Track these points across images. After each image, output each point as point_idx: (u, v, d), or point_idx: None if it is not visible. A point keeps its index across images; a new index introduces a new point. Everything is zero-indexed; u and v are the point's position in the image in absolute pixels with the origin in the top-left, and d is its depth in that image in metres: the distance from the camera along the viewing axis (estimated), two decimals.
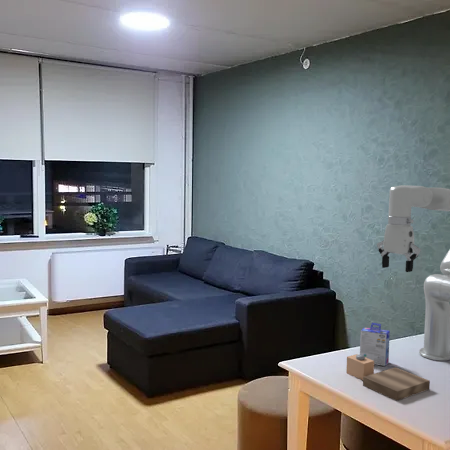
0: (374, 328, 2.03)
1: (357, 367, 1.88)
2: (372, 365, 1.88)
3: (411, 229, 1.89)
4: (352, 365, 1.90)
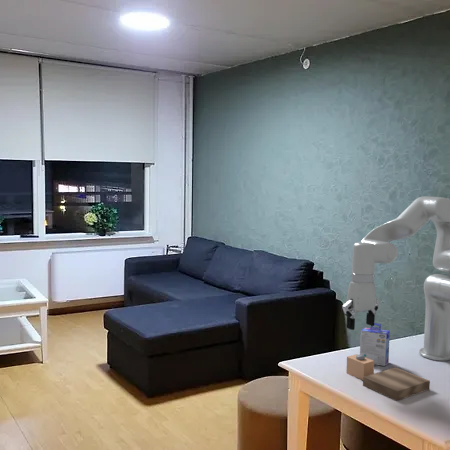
0: (374, 328, 2.03)
1: (357, 367, 1.88)
2: (372, 365, 1.88)
3: None
4: (352, 365, 1.90)
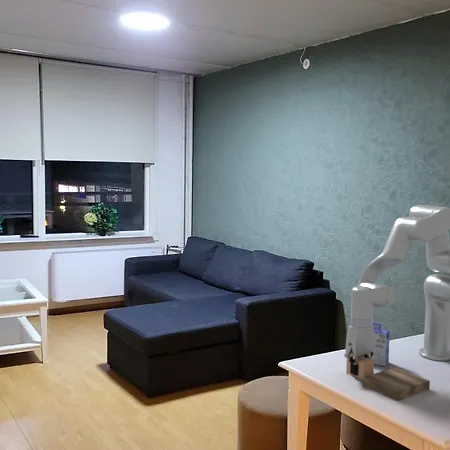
0: (374, 328, 2.03)
1: None
2: (372, 365, 1.88)
3: None
4: None
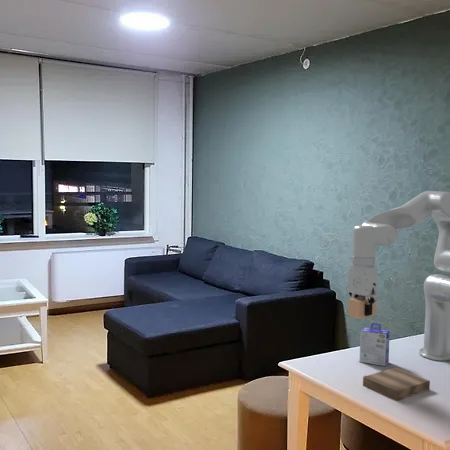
0: (374, 328, 2.03)
1: None
2: None
3: None
4: None
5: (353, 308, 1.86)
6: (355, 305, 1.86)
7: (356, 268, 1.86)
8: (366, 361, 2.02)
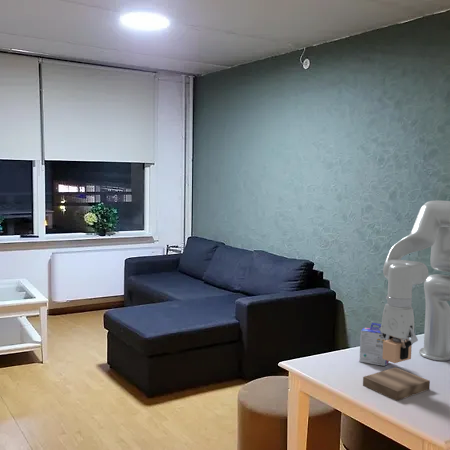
0: (374, 328, 2.03)
1: None
2: None
3: None
4: (400, 350, 1.76)
5: (388, 351, 1.77)
6: (390, 348, 1.76)
7: (392, 309, 1.77)
8: (366, 361, 2.02)
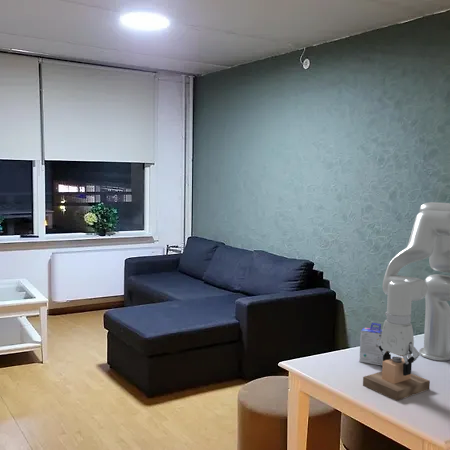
0: (374, 328, 2.03)
1: None
2: None
3: None
4: (400, 371, 1.77)
5: (387, 372, 1.78)
6: (390, 368, 1.77)
7: (391, 326, 1.77)
8: (366, 361, 2.02)
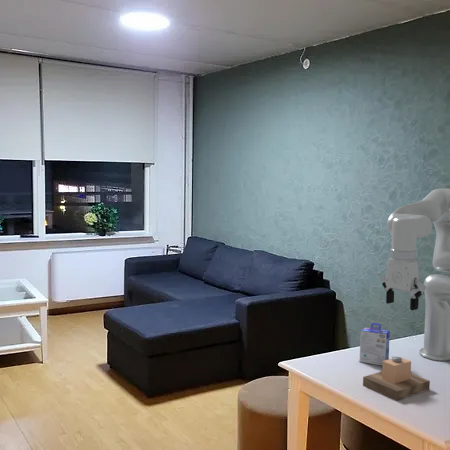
0: (374, 328, 2.03)
1: (405, 369, 1.78)
2: None
3: None
4: (400, 371, 1.77)
5: (387, 372, 1.78)
6: (390, 368, 1.77)
7: (396, 262, 1.77)
8: (366, 361, 2.02)
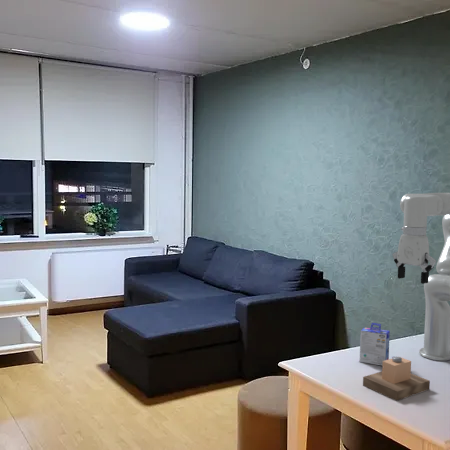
0: (374, 328, 2.03)
1: (405, 369, 1.78)
2: None
3: None
4: (400, 371, 1.77)
5: (387, 372, 1.78)
6: (390, 368, 1.77)
7: (407, 238, 1.87)
8: (366, 361, 2.02)
